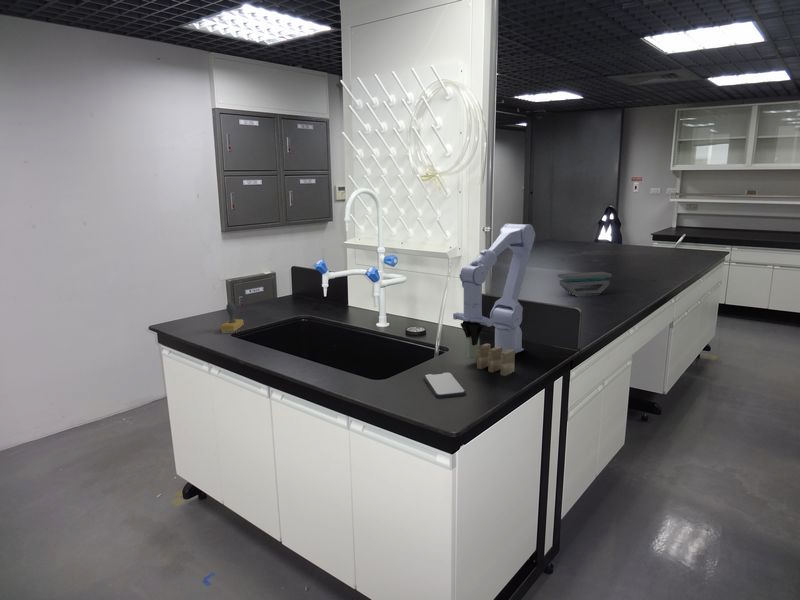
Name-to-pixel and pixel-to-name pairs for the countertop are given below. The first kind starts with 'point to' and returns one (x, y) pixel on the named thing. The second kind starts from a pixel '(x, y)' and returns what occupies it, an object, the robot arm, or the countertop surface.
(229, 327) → the rubber stamp
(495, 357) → the maple domino
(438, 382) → the phone case
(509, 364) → the maple domino
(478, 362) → the maple domino
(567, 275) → the sharpening stone
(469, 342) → the domino sage
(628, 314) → the countertop surface
